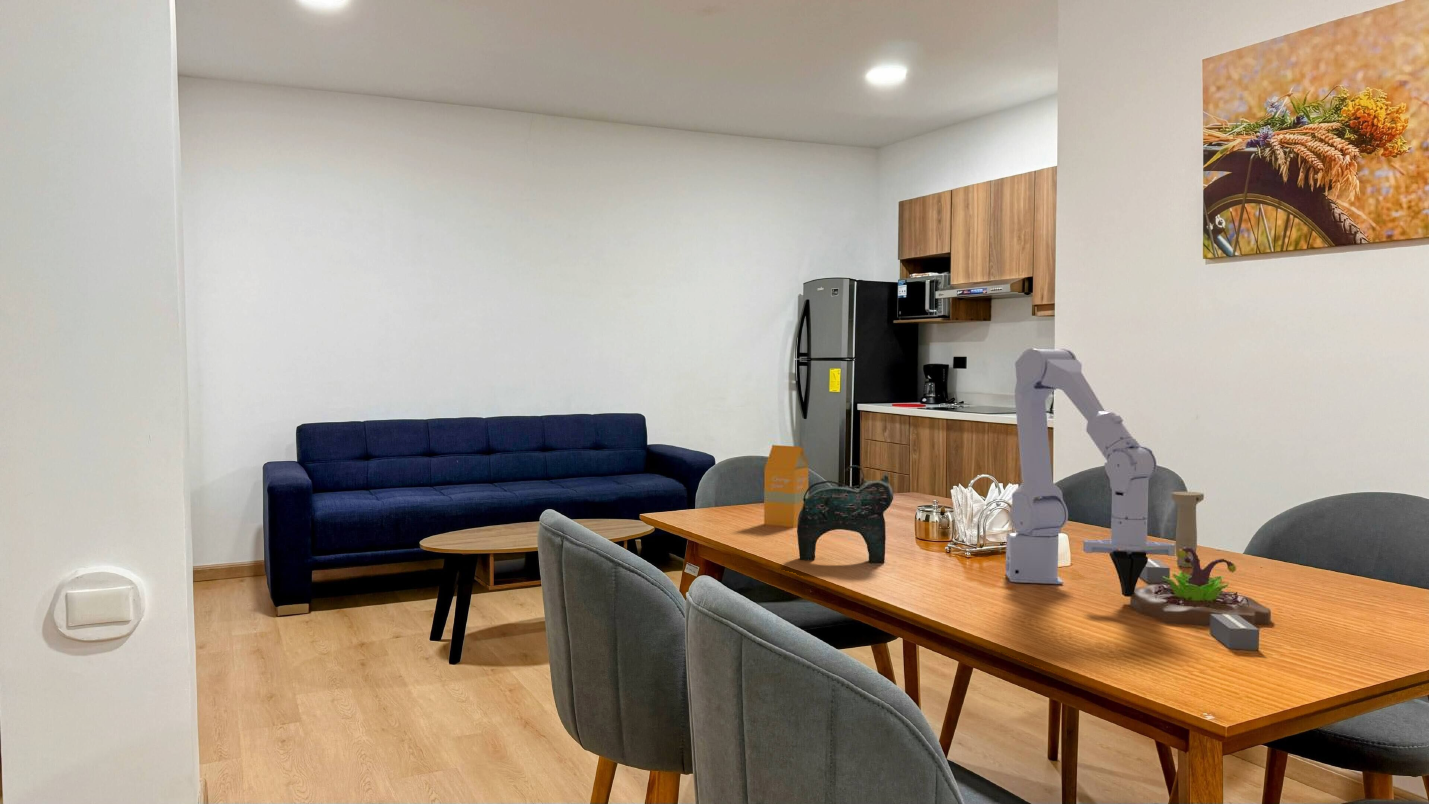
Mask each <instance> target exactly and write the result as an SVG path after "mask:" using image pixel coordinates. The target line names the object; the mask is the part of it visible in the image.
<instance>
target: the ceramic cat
mask: <svg viewBox="0 0 1429 804" xmlns="http://www.w3.org/2000/svg"><path fill="white" fill-rule="evenodd" d="M852 468H857V469H859V470H860V471H861V472H862V477H861V479H860V480H861V482H860V483H859V484H858V485H854V486H848V485H846V484H841V483H839V482H837V481H832V480H822V481H818V482H815V483H812V484H811V485H809V486H808V489H807V491H806V493H805V495H804V498H803V501H804V503H803V507H802V509H801V511H800V514H799V517H798V527H796V535H797V545H798V546H797V547H798V551H799V552H798V553H799V560H800V561H815V559H816V549H817V543H818V540H819V538H821V537H822V536H823V535H825V534H826V533H829V532H832V531H836V530H837V531H838V530H842V531H843V530H844V531H849V532H855V533H857V534H860V536H862V538H863V540H864V542H865V544H866V548H867V553H868V562H869V564H870V563H871V564H873V563H874V564H875V563H879V564H880V563H881V564H885V561H886V558H885V557H886V540H887V539H886V538H887V535H886V520H885V516H884V513H885V512H886V511H887V510H888V509H889V508H890V506H891V504H892V502H893V500H894V490H893V487H892V486H891V484H890V480H889V477H888V476H887V474H885V475H883V476H882V478H881V479H879V480H868V479H866V478H865V474H864V470H863V468H862V467H860V466H859V465H851V466H848V467H847V468H846V469H845V472H846V473H847V472H848V471H849V470H850V469H852ZM828 483H829V484H835V486H831V487H823V488H820V489H817V490H815V491H813V492H812V493H811V494H809V495H808V498H806V499H805V497H806V494H807V492H808V491H810V490H812V489H813V487H815V486H817V485H822V484H823V485H824V484H828ZM836 485H837V486H836ZM858 487H859V488H858ZM808 493H809V492H808Z"/></svg>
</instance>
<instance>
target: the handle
mask: <svg viewBox="0 0 1429 804" xmlns="http://www.w3.org/2000/svg"><path fill="white" fill-rule="evenodd" d="M1204 495H1205V494H1204V493H1203V492H1198V491H1197V492H1196V491H1174V492H1171V493H1170V498H1171V500H1172V501H1174V502H1175V503H1177V515H1176V516H1177V519H1176V526H1175V527H1176V529H1175V544H1174V545H1175V557H1177V559H1176V565H1177V566H1178V567H1181V568H1190V569H1191V568H1193V566H1192V565H1186V564H1185V563H1184V559H1185V557H1187V556H1189V557H1191V558H1192V559H1193V556H1192V553H1191V552H1188V553H1187V555H1186V556H1185V557H1184V558H1180V557H1178V555H1177V551H1178V550H1179V549H1181V548H1184V547H1186V548H1192V549H1193V550H1194V551H1195V552H1196V553H1197V547H1198V546H1197V545H1198V531H1197V530H1198V529H1197V505H1198V504H1199V503H1201V502H1202V501H1203V500H1204Z"/></svg>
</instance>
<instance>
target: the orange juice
mask: <svg viewBox="0 0 1429 804" xmlns="http://www.w3.org/2000/svg"><path fill="white" fill-rule="evenodd" d="M767 457H768V458H767V461H766V462H765V463H766V464H765V466H764V484H763V485H764V491H763V502H764V503H763V504H764V507H763V508H764V509H763V512H764V513H763V515H764V516H763V517H764V518H763V520H764V521H763V523H764V525H770V526H775V527H776V526H777V527H785V528H797V527H798V517H799V514H800V511H801V509H802V507H803V503H804V501H803V498H804V495H805V493H806V491H807V489H808V488H809V468H810V467H809V465H808V461H807V458H806V455H805V453H804V449H803V447H802V446H792V445H775V444H772V445H771V449H770V451H769V455H768V456H767ZM809 491H810V490H809ZM809 491H808V492H807V494H806V497H805V499H806V498H808V497H809Z"/></svg>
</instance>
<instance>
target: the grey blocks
mask: <svg viewBox="0 0 1429 804" xmlns="http://www.w3.org/2000/svg"><path fill="white" fill-rule="evenodd" d="M1170 572H1171V567H1169V566H1168V565H1166V564H1165V563H1163V562H1162V561H1160V560H1159V559H1157V558H1148V562H1147V564H1146V566H1145V567H1144V569H1143V570H1142V572H1141V574H1140V576H1139V579H1142V580H1143V581H1144V582H1146V584H1162V581H1166V580H1165V579H1164V578H1163V576H1164V577H1167V578H1170V576H1171V573H1170ZM1170 579H1171V578H1170ZM1167 582H1168V581H1167ZM1168 583H1169V582H1168ZM1163 584H1167V583H1165V582H1163ZM1209 634H1210V635H1212V636H1213V637H1214V638H1215V639H1216V640H1218V641H1219V642H1220V643H1221V644H1222V645H1223V646H1225V647H1226V648H1228V649H1229V650H1249V651H1250V650H1252V651H1259V650H1260V644H1259V643H1260V628H1258V627H1256V625H1255V626H1253V625H1252V624H1250V623H1249V622H1247V621H1246V620H1245V619H1243V618H1242V617H1240V616H1239V615H1228V614H1210V626H1209Z"/></svg>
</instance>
